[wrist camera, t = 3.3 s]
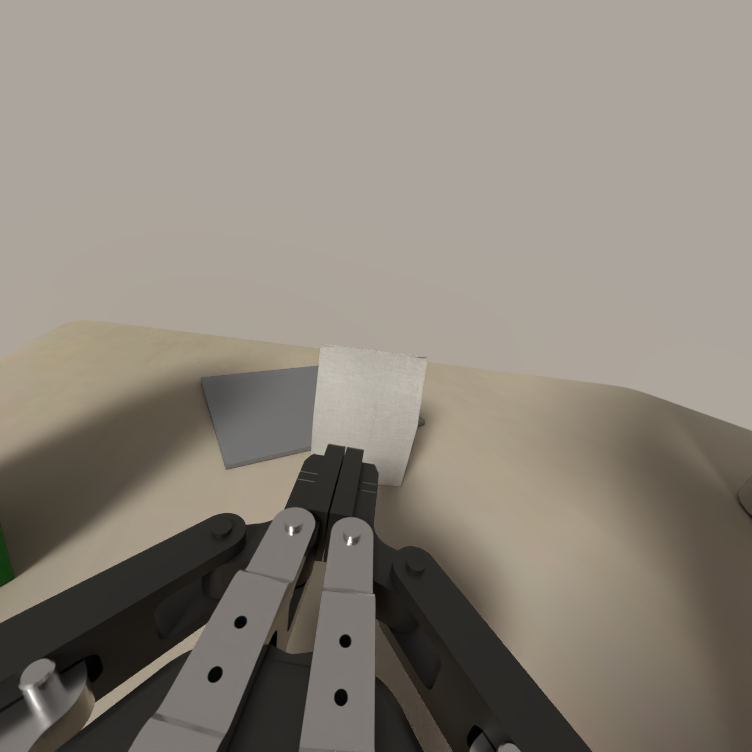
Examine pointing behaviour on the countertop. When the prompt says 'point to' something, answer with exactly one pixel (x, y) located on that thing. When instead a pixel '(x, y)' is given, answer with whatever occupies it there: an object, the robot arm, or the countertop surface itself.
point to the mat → (263, 413)
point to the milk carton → (4, 562)
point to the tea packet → (369, 406)
